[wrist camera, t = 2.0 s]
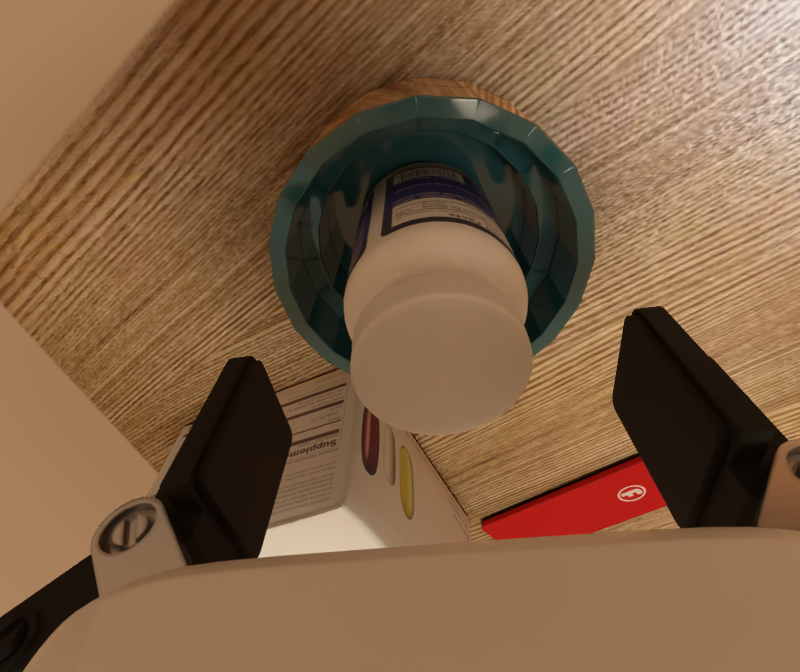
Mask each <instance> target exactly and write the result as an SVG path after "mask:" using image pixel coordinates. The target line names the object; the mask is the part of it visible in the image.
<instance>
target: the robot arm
mask: <svg viewBox="0 0 800 672" xmlns="http://www.w3.org/2000/svg"><path fill="white" fill-rule="evenodd" d="M612 398H613V405H614V408H615V411H616V413H617V414H618V416H619V418H620V420H621V422H622V424H623V426H624V427H625V429H626V431H627V433H628V435H629V437H630V438H631V440H632V442H633V444H634V446H635V448H636V449H637V451H638V453H639V455H640V457H641V459H642V461H643V462H644V464H645V466H646V468H647V470H648V472H649V473H650V475H651V477H652V479H653V481H654V483H655V485H656V486H657V488H658V490H659V492H660V494H661V496H662V497H663V499H664V501H665V503H666V505H667V507H668V508H669V510H670V512H671V514H672V516H673V518H674V520H675V521H676V523H677V524H678V526H679V527H680V528H679V529H659V530H639V531H621V532H606V533H591V534H576V535H561V536H546V537H530V538H515V539H501V540H487V541H473V542H458V543H444V544H430V545H416V546H402V547H389V548H375V549H362V550H349V551H336V552H323V553H310V554H297V555H284V556H273V557H262V558H258V557H259V555H260V552H261V549H262V546H263V542H264V539H265V535H266V532H267V528H268V524H269V521H270V517H271V514H272V510H273V507H274V503H275V500H276V496H277V493H278V489H279V486H280V482H281V479H282V475H283V472H284V468H285V465H286V461H287V458H288V454H289V451H290V447H291V443H292V430H291V428H290V425H289V423H288V421H287V418H286V416H285V414H284V411H283V409H282V407H281V405H280V402H279V400H278V398H277V395H276V393H275V391H274V388H273V386H272V384H271V382H270V379H269V377H268V375H267V372H266V370H265V368H264V366H263V364H262V362H261V361H259V360H258V361H256V360H255V358H254V357H252V356H246V357H238V358H231V359H229V360H228V362H227V363H226V365H225V367H224V369H223V371H222V372H221V374H220V376H219V378H218V380H217V382H216V383H215V385H214V387H213V389H212V391H211V393H210V394H209V396H208V398H207V400H206V402H205V403H204V405H203V407H202V409H201V411H200V413H199V414H198V416H197V418H196V420H195V422H194V424H193V425H192V427H191V429H190V431H189V433H188V435H187V436H186V438H185V440H184V442H183V444H182V446H181V447H180V449H179V451H178V453H177V455H176V456H175V458H174V460H173V462H172V464H171V466H170V467H169V469H168V471H167V473H166V475H165V477H164V478H163V480H162V482H161V484H160V486H159V487H160V488H159V490H158V492H157V494H156V496H155V497H141V498H137V499H133V500H131V501H129V502H127V503H125V504H123V505H121V506H120V507H119V508H117V509H116V510H114V511H113V512H112V513H111V514H110V515H108V516H107V517H106V518H105V520H104V521H102V523H101V524H100V526H99V527H98V528H97V530H96V531H95V533H94V536H93V538H92V541H91V555H89V556H88V557H86V558H85V559H83V560H82V561H81V562H79V563H78V564H77V565H75V566H73V567H72V568H70V569H69V570H68V571H66V572H65V573H64V574H62V575H60V576H59V577H58V578H56V579H55V580H54V581H52V582H51V583H49V584H48V585H46V586H45V587H43V588H42V589H40V590H39V591H38V592H36V593H35V594H33V595H32V596H30V597H29V598H28V599H26V600H25V601H23V602H22V603H20V604H19V605H17V606H16V607H15V608H13V609H12V610H10V611H9V612H7V613H6V614H4V615H3V616H2V617H1V618H0V672H800V439H794V440H789V441H788V440H787V438H786V437H785V436H784V435H783V434H782V433H781V432H780V431H779V430H778V429H777V428H776V427H775V426H774V424H773V423H772V422H771V421H770V420H769V419H768V418H767V417H766V416H765V415H764V414H763V413H762V411H761V410H760V409H759V408H758V407H757V406H756V405H755V404H754V403H753V402H752V401H751V400H750V398H749V397H748V396H747V395H746V394H745V393H744V392H743V391H742V390H741V389H740V388H739V387H738V385H737V384H736V383H735V382H734V381H733V380H732V379H731V378H730V377H729V376H728V375H727V374H726V372H725V371H724V370H723V369H722V368H721V367H720V366H719V365H718V364H717V363H716V362H715V361H714V360H713V359H712V358H711V357H709V356H707V354H706V353H705V352H704V351H703V350H702V349H701V348H700V347H699V346H698V345H697V344H696V342H695V341H694V340H693V339H692V338H691V337H690V336H689V335H688V334H687V333H686V332H685V330H684V329H683V328H682V327H681V326H680V325H679V324H678V323H677V322H676V321H675V320H674V318H673V317H672V316H671V315H670V314H669V313H668V312H667V311H666V310H665V309H664V308H663V307H661V306H656V307H648V308H639V309H635V310H634V311H633V312H632V315H631V316H627V317H626V318H625V321H624V327H623V333H622V339H621V346H620V352H619V358H618V364H617V371H616V377H615V383H614V390H613V397H612Z"/></svg>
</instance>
